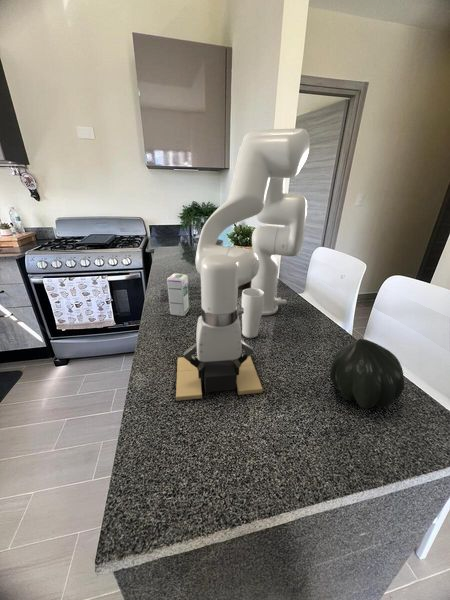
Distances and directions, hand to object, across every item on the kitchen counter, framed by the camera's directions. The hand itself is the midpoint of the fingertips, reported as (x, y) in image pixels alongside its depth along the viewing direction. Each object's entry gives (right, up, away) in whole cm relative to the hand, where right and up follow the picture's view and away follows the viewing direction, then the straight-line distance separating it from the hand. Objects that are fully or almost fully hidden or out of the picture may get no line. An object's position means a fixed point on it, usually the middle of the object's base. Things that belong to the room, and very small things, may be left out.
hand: (218, 377), depth 61 cm
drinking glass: (+10, +8, +21) cm, 24 cm away
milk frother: (-7, +40, +90) cm, 99 cm away
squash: (+34, -3, -1) cm, 34 cm away
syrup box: (-16, +14, +34) cm, 40 cm away
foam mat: (0, 0, +3) cm, 3 cm away
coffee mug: (+12, +25, +59) cm, 65 cm away
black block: (0, -1, 0) cm, 1 cm away
